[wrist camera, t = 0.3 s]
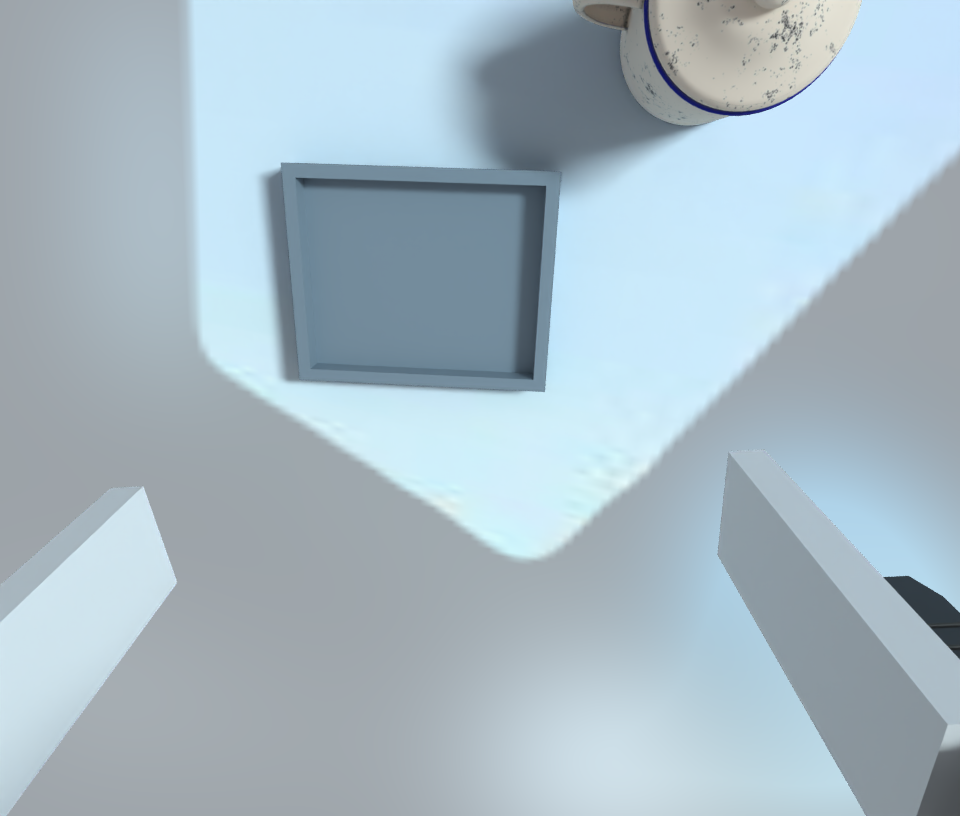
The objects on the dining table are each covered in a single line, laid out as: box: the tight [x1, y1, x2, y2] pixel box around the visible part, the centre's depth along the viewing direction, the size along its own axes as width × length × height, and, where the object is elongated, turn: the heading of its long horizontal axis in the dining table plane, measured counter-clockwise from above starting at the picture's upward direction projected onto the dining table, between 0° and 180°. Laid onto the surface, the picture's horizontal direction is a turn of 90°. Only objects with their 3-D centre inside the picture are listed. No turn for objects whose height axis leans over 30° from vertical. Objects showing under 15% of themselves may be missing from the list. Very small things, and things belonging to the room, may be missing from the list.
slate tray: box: [281, 163, 561, 392], centre depth 38 cm, size 14×17×2 cm
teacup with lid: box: [573, 0, 862, 125], centre depth 27 cm, size 12×9×12 cm
